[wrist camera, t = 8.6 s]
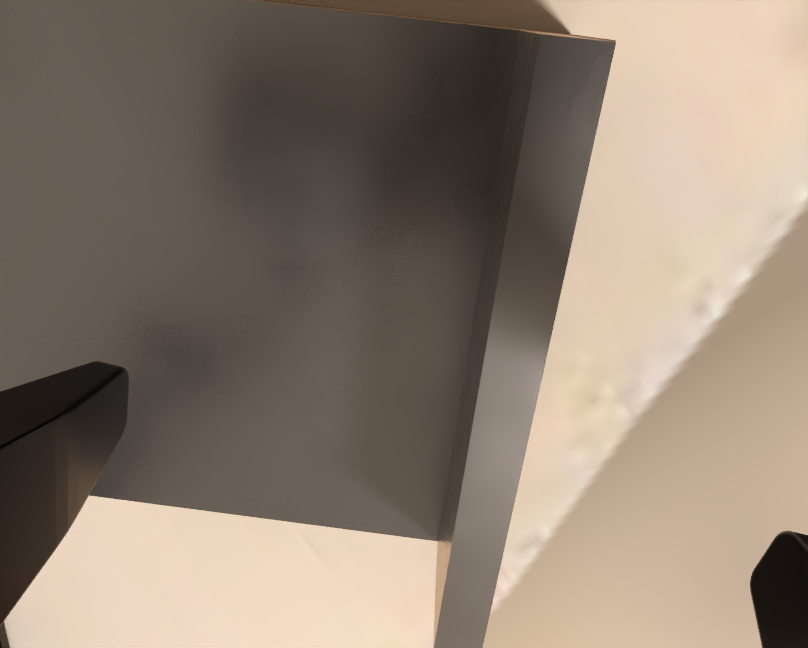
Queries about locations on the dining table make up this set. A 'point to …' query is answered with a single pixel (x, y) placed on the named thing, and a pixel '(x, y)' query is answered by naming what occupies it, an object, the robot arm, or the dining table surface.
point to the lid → (299, 255)
